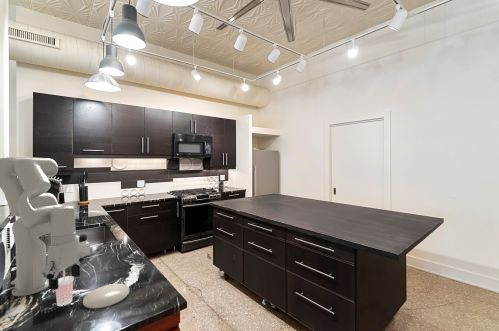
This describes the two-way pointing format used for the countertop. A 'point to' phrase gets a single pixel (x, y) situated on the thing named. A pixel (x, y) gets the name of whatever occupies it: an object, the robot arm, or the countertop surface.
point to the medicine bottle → (83, 244)
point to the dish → (106, 296)
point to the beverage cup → (64, 290)
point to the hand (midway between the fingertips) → (65, 282)
